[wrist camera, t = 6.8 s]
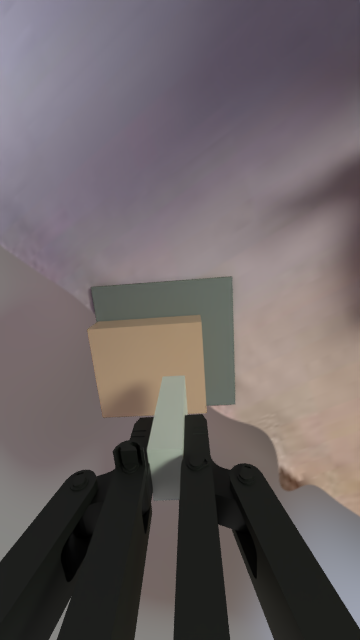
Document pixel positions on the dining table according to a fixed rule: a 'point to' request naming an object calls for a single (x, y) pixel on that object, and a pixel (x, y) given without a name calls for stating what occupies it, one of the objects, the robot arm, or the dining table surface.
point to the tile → (146, 362)
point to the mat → (183, 300)
